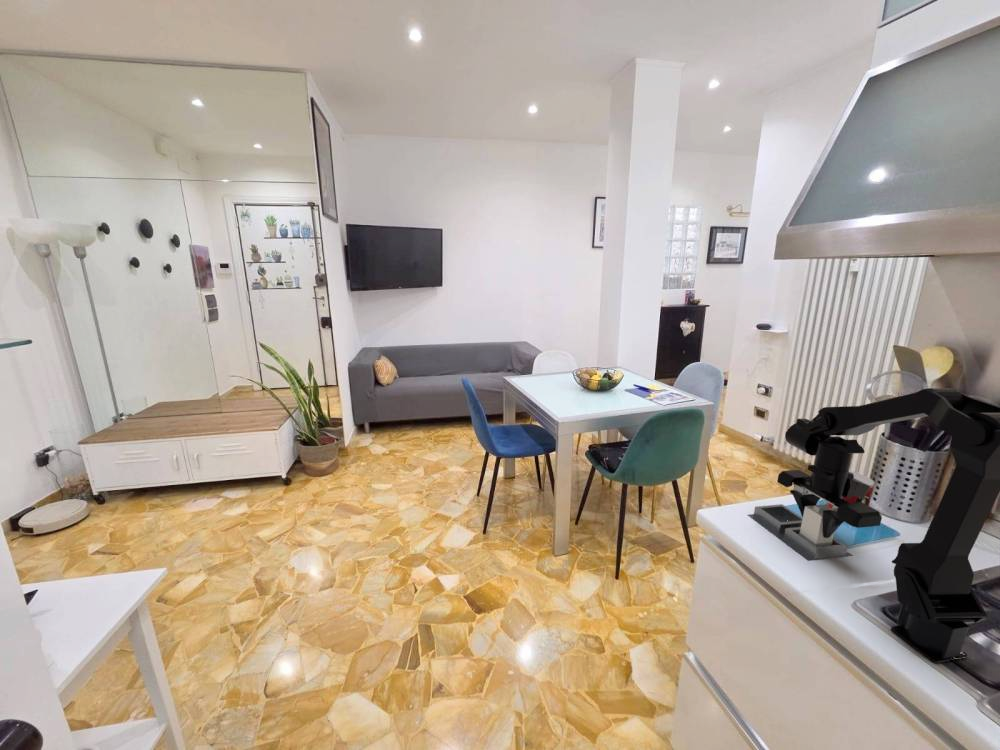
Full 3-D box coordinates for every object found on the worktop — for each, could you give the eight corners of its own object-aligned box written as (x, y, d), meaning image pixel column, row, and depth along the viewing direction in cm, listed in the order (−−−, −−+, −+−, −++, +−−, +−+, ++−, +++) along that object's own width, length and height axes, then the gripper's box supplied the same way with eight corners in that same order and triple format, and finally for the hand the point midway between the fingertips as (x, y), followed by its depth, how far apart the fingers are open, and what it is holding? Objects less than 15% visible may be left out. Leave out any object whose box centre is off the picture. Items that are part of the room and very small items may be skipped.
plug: (831, 548, 87) (839, 511, 85) (814, 550, 87) (822, 512, 84) (813, 536, 91) (821, 500, 89) (798, 538, 91) (805, 502, 88)
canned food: (840, 526, 98) (850, 485, 95) (816, 508, 105) (825, 469, 103) (873, 527, 97) (884, 485, 95) (846, 509, 105) (856, 470, 103)
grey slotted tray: (852, 558, 86) (855, 546, 86) (807, 564, 85) (810, 551, 84) (785, 514, 103) (787, 503, 102) (746, 517, 101) (748, 506, 100)
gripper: (914, 484, 77) (894, 556, 81) (823, 445, 95) (810, 505, 98) (864, 488, 75) (847, 561, 79) (781, 447, 93) (770, 509, 97)
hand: (816, 531), depth 88 cm, fingers closed on plug, 4 cm apart
